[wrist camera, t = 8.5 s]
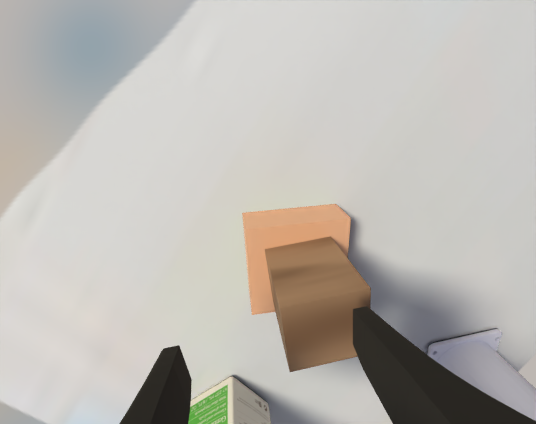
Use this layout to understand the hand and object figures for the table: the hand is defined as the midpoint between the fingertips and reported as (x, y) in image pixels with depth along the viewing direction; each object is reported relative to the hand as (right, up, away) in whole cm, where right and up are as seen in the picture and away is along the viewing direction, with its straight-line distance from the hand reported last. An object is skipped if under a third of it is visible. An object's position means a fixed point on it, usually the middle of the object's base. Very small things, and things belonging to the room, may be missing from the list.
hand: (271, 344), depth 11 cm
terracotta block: (+2, +3, +10) cm, 11 cm away
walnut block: (+2, +1, +8) cm, 8 cm away
